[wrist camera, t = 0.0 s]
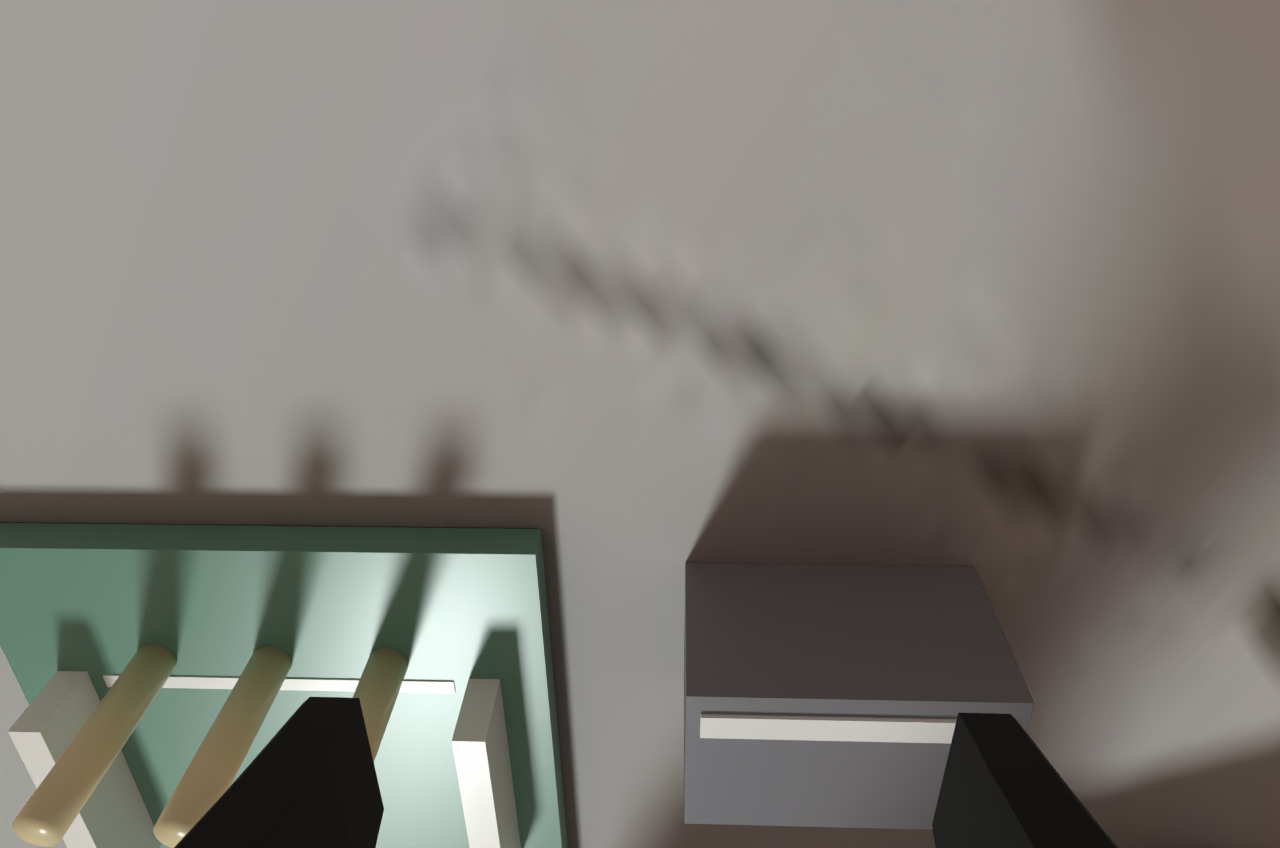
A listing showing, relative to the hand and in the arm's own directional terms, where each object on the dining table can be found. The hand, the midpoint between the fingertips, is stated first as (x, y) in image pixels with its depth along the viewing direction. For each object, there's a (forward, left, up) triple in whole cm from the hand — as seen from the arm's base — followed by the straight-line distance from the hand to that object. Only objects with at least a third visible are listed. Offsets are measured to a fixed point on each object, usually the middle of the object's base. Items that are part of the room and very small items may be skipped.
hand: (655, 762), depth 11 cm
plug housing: (-7, -4, -10) cm, 13 cm away
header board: (-11, +10, -10) cm, 18 cm away
